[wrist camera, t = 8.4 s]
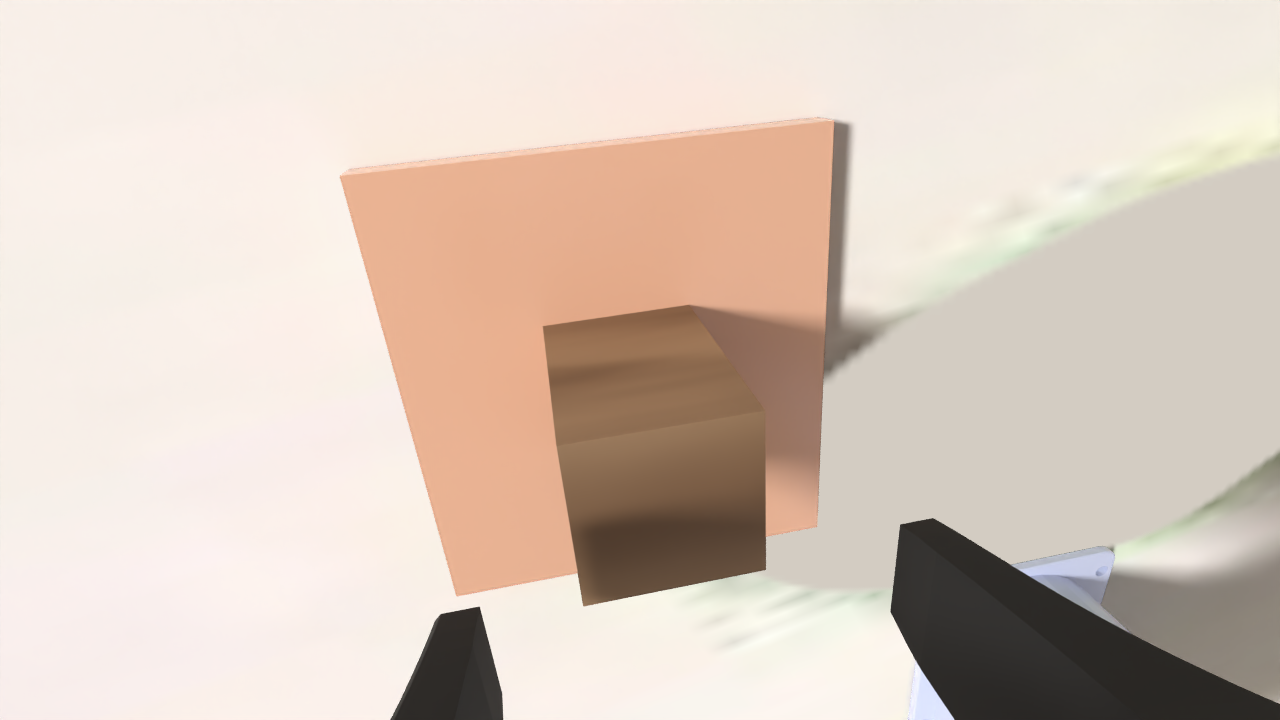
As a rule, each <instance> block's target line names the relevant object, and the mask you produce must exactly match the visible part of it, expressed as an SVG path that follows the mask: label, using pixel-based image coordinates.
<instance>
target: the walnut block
mask: <svg viewBox="0 0 1280 720" xmlns="http://www.w3.org/2000/svg"><path fill="white" fill-rule="evenodd" d="M543 333H544V342H545V351H546V359H547V368H548V377H549V386H550V394H551V403H552V412H553V420H554V429H555V438H556V446H557V452H558V458H559V464H560V470H561V476H562V482H563V488H564V494H565V500H566V506H567V512H568V518H569V524H570V530H571V536H572V542H573V548H574V554H575V560H576V566H577V572H578V577H579V583H580V589H581V595H582V601H583V606H588V605H593V604H598V603H603V602H608V601H613V600H618V599H623V598H628V597H633V596H638V595H643V594H648V593H653V592H658V591H663V590H668V589H673V588H678V587H683V586H688V585H693V584H698V583H703V582H708V581H713V580H718V579H723V578H728V577H733V576H737V575H742V574H747V573H752V572H757V571H762V570H766V446H765V409H764V408H763V407H762V405H761V404H760V403H759V401H758V400H757V398H756V397H755V396H754V394H753V393H752V391H751V390H750V389H749V387H748V386H747V385H746V383H745V382H744V380H743V379H742V378H741V376H740V375H739V373H738V372H737V371H736V369H735V368H734V366H733V365H732V364H731V362H730V361H729V360H728V358H727V357H726V355H725V354H724V353H723V351H722V350H721V348H720V347H719V346H718V344H717V343H716V342H715V340H714V339H713V337H712V336H711V335H710V333H709V332H708V330H707V329H706V328H705V326H704V325H703V324H702V322H701V321H700V319H699V318H698V317H697V315H696V314H695V312H694V311H693V310H692V308H691V307H690V306H689V305H684V306H677V307H670V308H663V309H657V310H650V311H643V312H636V313H629V314H622V315H615V316H609V317H602V318H595V319H588V320H581V321H574V322H568V323H561V324H554V325H547V326H543Z"/></svg>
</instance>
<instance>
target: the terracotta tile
mask: <svg viewBox="0 0 1280 720" xmlns="http://www.w3.org/2000/svg"><path fill="white" fill-rule="evenodd" d="M833 136H834V120H830V119H824V118H819V117H815V118H806V119H797V120H788V121H779V122H770V123H761V124H752V125H743V126H734V127H725V128H716V129H707V130H698V131H689V132H680V133H671V134H662V135H653V136H644V137H635V138H626V139H617V140H608V141H599V142H590V143H581V144H572V145H563V146H554V147H545V148H536V149H527V150H518V151H509V152H500V153H491V154H482V155H473V156H464V157H455V158H446V159H437V160H428V161H419V162H410V163H401V164H392V165H383V166H374V167H365V168H356V169H349V170H348V171H346V172H345V173H343V174H342V175H340V179H341V182H342V186H343V189H344V193H345V197H346V200H347V204H348V207H349V211H350V215H351V218H352V222H353V225H354V229H355V233H356V236H357V240H358V243H359V247H360V251H361V254H362V258H363V261H364V265H365V269H366V272H367V276H368V279H369V283H370V287H371V290H372V294H373V297H374V301H375V305H376V308H377V312H378V315H379V319H380V323H381V326H382V330H383V333H384V337H385V341H386V344H387V348H388V351H389V355H390V359H391V362H392V366H393V369H394V373H395V377H396V380H397V384H398V387H399V391H400V395H401V398H402V402H403V405H404V409H405V413H406V416H407V420H408V423H409V427H410V431H411V434H412V438H413V441H414V445H415V449H416V452H417V456H418V459H419V463H420V467H421V470H422V474H423V477H424V481H425V485H426V488H427V492H428V495H429V499H430V503H431V506H432V510H433V513H434V517H435V521H436V524H437V528H438V531H439V535H440V538H441V542H442V546H443V549H444V553H445V556H446V560H447V564H448V567H449V571H450V574H451V578H452V582H453V585H454V589H455V592H456V596H461V595H467V594H472V593H477V592H482V591H487V590H492V589H498V588H503V587H508V586H513V585H518V584H524V583H529V582H534V581H539V580H544V579H549V578H555V577H560V576H565V575H570V574H575V573H578V572H577V566H576V560H575V554H574V548H573V542H572V536H571V530H570V524H569V518H568V512H567V506H566V500H565V494H564V488H563V482H562V476H561V470H560V464H559V458H558V452H557V446H556V438H555V429H554V420H553V412H552V403H551V394H550V386H549V377H548V368H547V359H546V351H545V342H544V333H543V326H547V325H554V324H561V323H568V322H574V321H581V320H588V319H595V318H602V317H609V316H615V315H622V314H629V313H636V312H643V311H650V310H657V309H663V308H670V307H677V306H684V305H689V306H690V307H691V308H692V310H693V311H694V312H695V314H696V315H697V317H698V318H699V319H700V321H701V322H702V324H703V325H704V326H705V328H706V329H707V330H708V332H709V333H710V335H711V336H712V337H713V339H714V340H715V342H716V343H717V344H718V346H719V347H720V348H721V350H722V351H723V353H724V354H725V355H726V357H727V358H728V360H729V361H730V362H731V364H732V365H733V366H734V368H735V369H736V371H737V372H738V373H739V375H740V376H741V378H742V379H743V380H744V382H745V383H746V385H747V386H748V387H749V389H750V390H751V391H752V393H753V394H754V396H755V397H756V398H757V400H758V401H759V403H760V404H761V405H762V407H763V408H764V409H765V446H766V537H767V536H772V535H778V534H783V533H788V532H793V531H798V530H803V529H808V528H813V527H817V516H818V492H819V491H818V490H819V468H820V445H821V420H822V398H823V374H824V350H825V326H826V303H827V279H828V255H829V231H830V208H831V184H832V160H833Z"/></svg>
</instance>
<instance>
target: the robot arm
mask: <svg viewBox="0 0 1280 720" xmlns="http://www.w3.org/2000/svg"><path fill="white" fill-rule="evenodd" d="M1114 559H1115V555H1114V553H1113V552H1112V551H1111V550H1110V549H1109V548H1107V547H1105V546H1098V547H1093V548H1089V549H1084V550H1079V551H1074V552H1069V553H1065V554H1060V555H1055V556H1050V557H1045V558H1041V559H1036V560H1031V561H1026V562H1022V563H1017V564H1012V565H1010V564H1008V563H1007V562H1005V561H1003V560H1001V559H1000V558H998V557H997V556H995V555H994V554H992V553H990V552H989V551H987V550H985V549H984V548H982V547H981V546H979V545H977V544H976V543H974V542H972V541H971V540H969V539H967V538H966V537H964V536H963V535H961V534H959V533H958V532H956V531H954V530H953V529H951V528H949V527H947V526H946V525H944V524H942V523H941V522H939V521H937V520H935V519H933V518H932V519H926V520H921V521H916V522H911V523H906V524H901V525H900V531H899V540H898V549H897V559H896V567H895V576H894V585H893V594H892V603H891V614H892V616H893V617H894V619H895V621H896V623H897V625H898V627H899V629H900V631H901V633H902V635H903V637H904V639H905V641H906V643H907V645H908V647H909V649H910V651H911V653H912V654H913V656H914V658H915V660H916V665H915V672H914V680H913V687H912V694H911V701H910V708H909V715H908V720H1280V704H1279V703H1276V702H1274V701H1271V700H1269V699H1267V698H1264V697H1262V696H1260V695H1258V694H1255V693H1253V692H1251V691H1248V690H1246V689H1244V688H1242V687H1239V686H1237V685H1235V684H1233V683H1230V682H1228V681H1226V680H1224V679H1222V678H1220V677H1218V676H1216V675H1214V674H1211V673H1209V672H1207V671H1205V670H1203V669H1201V668H1199V667H1197V666H1194V665H1192V664H1190V663H1188V662H1186V661H1184V660H1182V659H1180V658H1178V657H1175V656H1173V655H1171V654H1169V653H1167V652H1165V651H1163V650H1161V649H1159V648H1157V647H1155V646H1153V645H1152V644H1150V643H1148V642H1146V641H1144V640H1142V639H1140V638H1138V637H1136V636H1134V635H1133V634H1131V633H1130V632H1129V631H1128V630H1127V629H1126V628H1125V627H1124V626H1123V625H1122V624H1120V623H1119V622H1118V621H1117V620H1116V619H1115V618H1114V617H1113V616H1112V615H1111V614H1110V613H1109V612H1107V611H1106V610H1105V609H1104V608H1103V607H1102V606H1101V603H1102V599H1103V596H1104V593H1105V589H1106V586H1107V583H1108V579H1109V576H1110V573H1111V570H1112V566H1113V563H1114ZM391 720H503V703H502V691H501V688H500V684H499V680H498V676H497V672H496V668H495V664H494V661H493V657H492V653H491V649H490V645H489V641H488V637H487V634H486V630H485V626H484V622H483V618H482V614H481V610H480V607H475V608H470V609H465V610H460V611H455V612H450V613H444V614H441V615H440V616H439V617H438V618H437V619H436V621H435V622H434V625H433V628H432V630H431V633H430V635H429V638H428V640H427V642H426V645H425V647H424V649H423V652H422V654H421V656H420V659H419V661H418V663H417V665H416V668H415V670H414V672H413V674H412V676H411V679H410V681H409V683H408V685H407V687H406V689H405V692H404V694H403V696H402V698H401V700H400V702H399V704H398V706H397V708H396V710H395V712H394V714H393V716H392V718H391Z"/></svg>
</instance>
